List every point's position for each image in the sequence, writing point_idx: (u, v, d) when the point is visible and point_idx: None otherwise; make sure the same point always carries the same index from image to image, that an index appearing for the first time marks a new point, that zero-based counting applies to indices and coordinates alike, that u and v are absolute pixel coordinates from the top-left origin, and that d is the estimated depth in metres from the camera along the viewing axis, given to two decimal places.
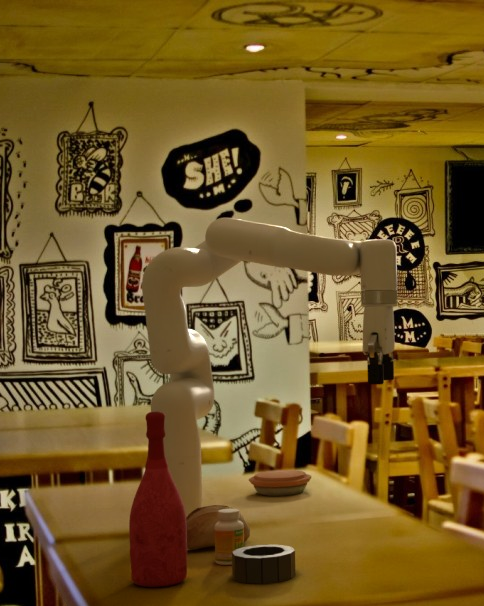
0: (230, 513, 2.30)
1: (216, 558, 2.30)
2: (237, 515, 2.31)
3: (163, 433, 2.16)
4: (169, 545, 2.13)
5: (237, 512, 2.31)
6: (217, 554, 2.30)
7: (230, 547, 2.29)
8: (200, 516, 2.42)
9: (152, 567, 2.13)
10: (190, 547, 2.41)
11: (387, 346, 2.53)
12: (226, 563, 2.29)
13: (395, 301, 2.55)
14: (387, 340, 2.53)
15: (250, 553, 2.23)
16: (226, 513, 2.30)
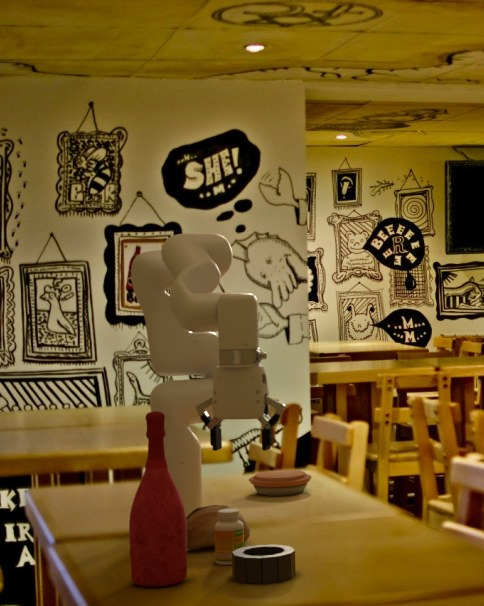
0: (230, 513, 2.30)
1: (216, 558, 2.30)
2: (237, 515, 2.31)
3: (163, 433, 2.16)
4: (169, 545, 2.13)
5: (237, 512, 2.31)
6: (217, 554, 2.30)
7: (230, 547, 2.29)
8: (200, 516, 2.42)
9: (152, 567, 2.13)
10: (190, 547, 2.41)
11: (222, 411, 2.32)
12: (226, 563, 2.29)
13: (228, 362, 2.30)
14: (220, 405, 2.32)
15: (250, 553, 2.23)
16: (226, 513, 2.30)
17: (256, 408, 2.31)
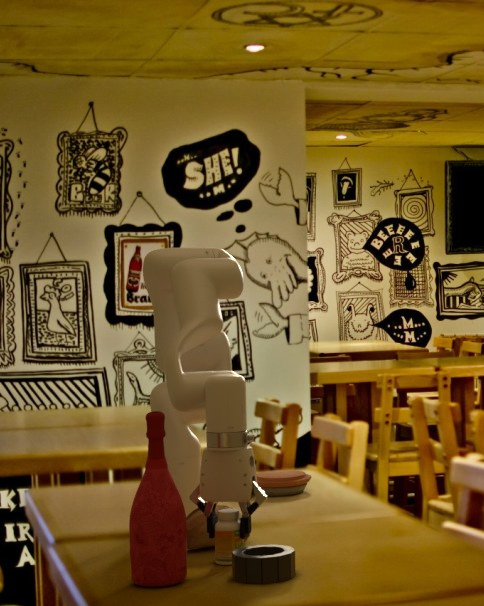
0: (230, 513, 2.30)
1: (216, 558, 2.30)
2: (237, 515, 2.31)
3: (163, 433, 2.17)
4: (169, 545, 2.13)
5: (237, 512, 2.31)
6: (217, 554, 2.30)
7: (230, 547, 2.29)
8: (200, 516, 2.42)
9: (152, 567, 2.13)
10: (190, 547, 2.41)
11: (209, 493, 2.30)
12: (226, 563, 2.29)
13: (215, 445, 2.28)
14: (208, 487, 2.30)
15: (250, 553, 2.23)
16: (226, 513, 2.30)
17: (243, 491, 2.29)
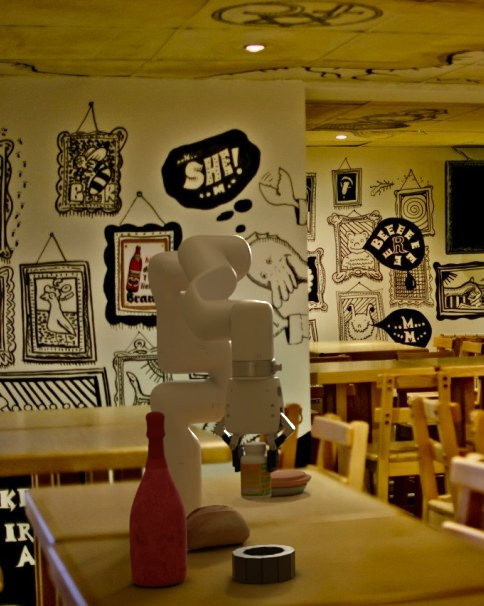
0: (257, 445, 2.20)
1: (242, 493, 2.21)
2: (264, 448, 2.21)
3: (163, 433, 2.17)
4: (169, 545, 2.13)
5: (264, 445, 2.21)
6: (243, 488, 2.20)
7: (257, 481, 2.19)
8: (200, 516, 2.42)
9: (152, 567, 2.13)
10: (190, 547, 2.41)
11: (235, 425, 2.20)
12: (252, 498, 2.19)
13: (241, 374, 2.18)
14: (233, 418, 2.20)
15: (250, 553, 2.23)
16: (252, 445, 2.20)
17: (271, 422, 2.19)
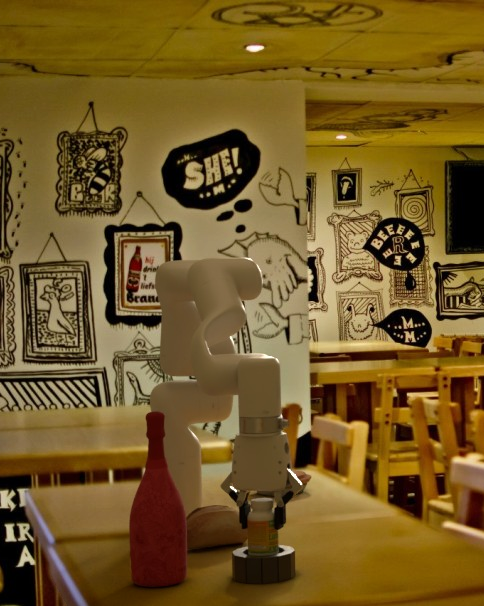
0: (264, 502, 2.18)
1: (249, 550, 2.19)
2: (271, 505, 2.19)
3: (163, 433, 2.16)
4: (169, 545, 2.13)
5: (271, 501, 2.19)
6: (250, 546, 2.18)
7: (264, 538, 2.18)
8: (200, 516, 2.42)
9: (152, 567, 2.13)
10: (190, 547, 2.41)
11: (242, 482, 2.18)
12: (260, 555, 2.18)
13: (248, 431, 2.16)
14: (240, 475, 2.18)
15: None
16: (260, 502, 2.18)
17: (278, 479, 2.17)
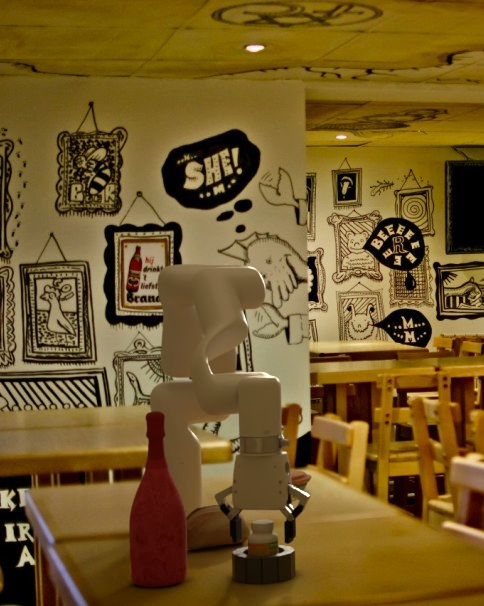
0: (264, 524, 2.18)
1: None
2: (271, 527, 2.19)
3: (163, 433, 2.17)
4: (169, 545, 2.13)
5: (271, 523, 2.19)
6: None
7: None
8: (200, 516, 2.42)
9: (152, 567, 2.13)
10: (190, 547, 2.41)
11: (242, 501, 2.18)
12: None
13: (249, 451, 2.16)
14: (241, 494, 2.18)
15: None
16: (260, 524, 2.18)
17: (278, 499, 2.17)
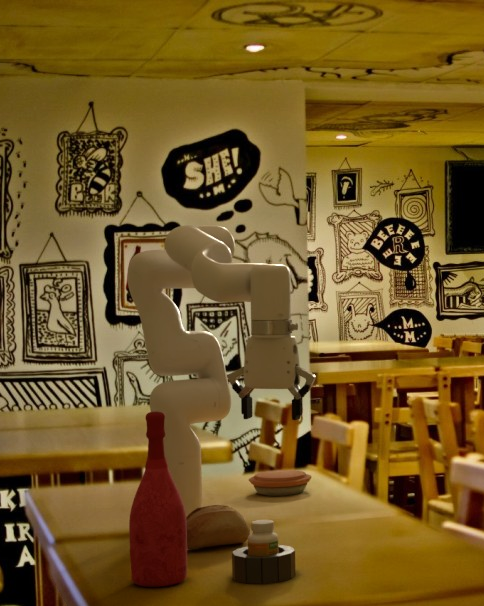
0: (264, 524, 2.18)
1: None
2: (271, 527, 2.19)
3: (163, 433, 2.17)
4: (169, 545, 2.13)
5: (271, 523, 2.19)
6: None
7: None
8: (200, 516, 2.42)
9: (152, 567, 2.13)
10: (190, 547, 2.41)
11: (253, 380, 2.35)
12: None
13: (259, 332, 2.32)
14: (252, 374, 2.34)
15: None
16: (260, 524, 2.18)
17: (287, 378, 2.33)
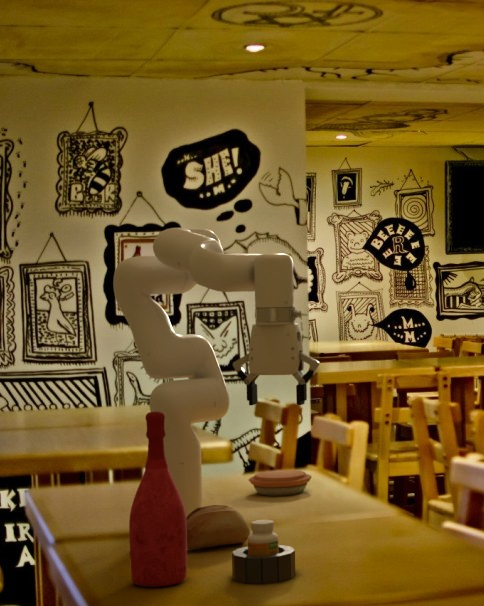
0: (264, 524, 2.18)
1: None
2: (271, 527, 2.19)
3: (163, 433, 2.17)
4: (169, 545, 2.13)
5: (271, 523, 2.19)
6: None
7: None
8: (200, 516, 2.42)
9: (152, 567, 2.13)
10: (190, 547, 2.41)
11: (258, 367, 2.40)
12: None
13: (264, 320, 2.38)
14: (257, 361, 2.40)
15: None
16: (260, 524, 2.18)
17: (291, 364, 2.39)
